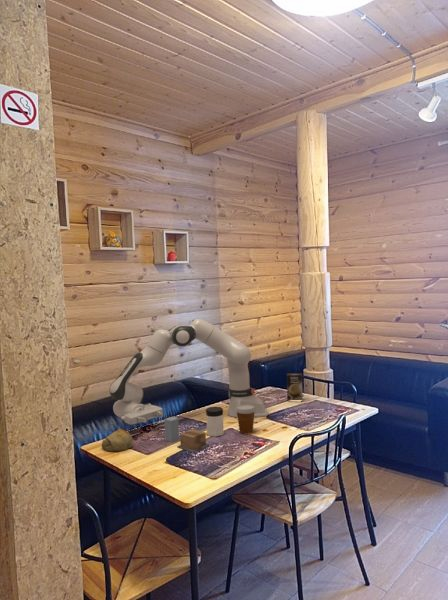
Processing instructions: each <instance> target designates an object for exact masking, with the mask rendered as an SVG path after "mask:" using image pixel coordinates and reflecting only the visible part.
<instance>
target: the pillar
mask: <svg viewBox="0 0 448 600" xmlns="http://www.w3.org/2000/svg"><path fill="white" fill-rule="evenodd" d="M179 424H180V423H179V418H177V417H174V416H170V417H167V418H164V436H165V437H164V438H165V439H164V440H165V441H166V442H169V443H174V442H178V441H180V430H179V429H180V428H179V427H180V426H179Z"/></svg>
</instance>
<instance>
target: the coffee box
mask: <svg viewBox="0 0 448 600" xmlns="http://www.w3.org/2000/svg"><path fill="white" fill-rule="evenodd" d="M286 391H287V392H286V393H287V394H286V396H287V400H303V401H304V399H303V396H304V395H303V373H302V372H301V373H296V372H295V373H293V372H291V373H289V372H287V373H286Z"/></svg>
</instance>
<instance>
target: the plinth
mask: <svg viewBox="0 0 448 600" xmlns="http://www.w3.org/2000/svg"><path fill="white" fill-rule="evenodd" d="M179 441H180V442H179V443H180V444H179V445H177V446H176V447H177V449H181V450H183V451H187V452H191V453H193V454H194V453H196V452H198V451H200V450H203V449H205V448H207V447H209V446H210V444H209V443H207V431H206V432H205V431H202V430H198V429H195V428H192V429H189V430H187V431H184V432H181V433H179Z"/></svg>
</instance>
